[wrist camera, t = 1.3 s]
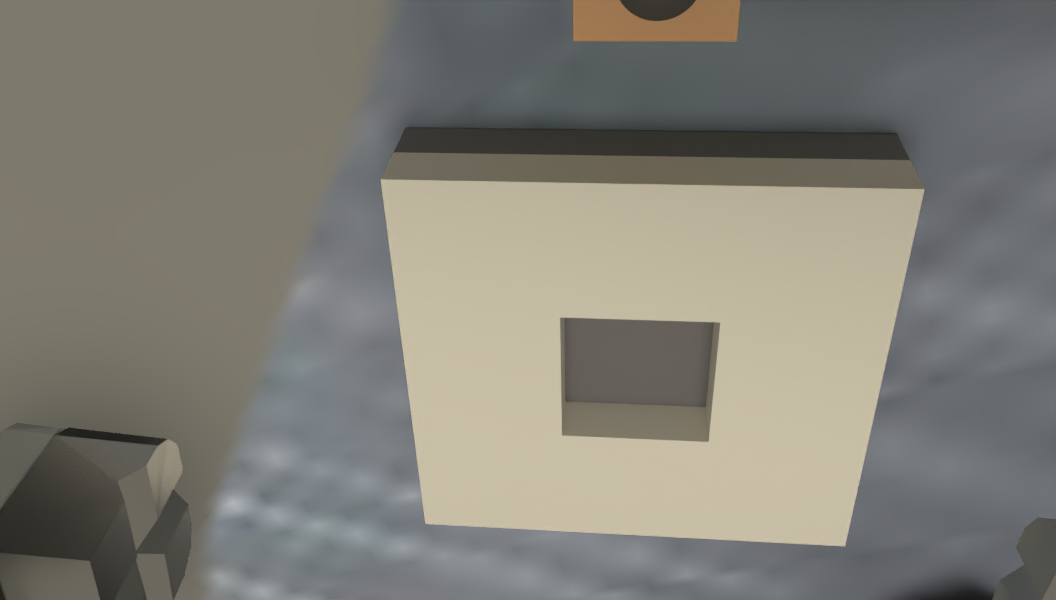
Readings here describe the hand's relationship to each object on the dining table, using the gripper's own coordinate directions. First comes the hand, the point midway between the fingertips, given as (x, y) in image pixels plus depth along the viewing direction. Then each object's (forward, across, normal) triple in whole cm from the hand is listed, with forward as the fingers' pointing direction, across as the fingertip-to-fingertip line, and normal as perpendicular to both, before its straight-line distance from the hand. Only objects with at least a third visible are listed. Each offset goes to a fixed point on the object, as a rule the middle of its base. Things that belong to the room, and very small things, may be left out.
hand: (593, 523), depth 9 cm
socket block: (+25, -3, +14) cm, 29 cm away
